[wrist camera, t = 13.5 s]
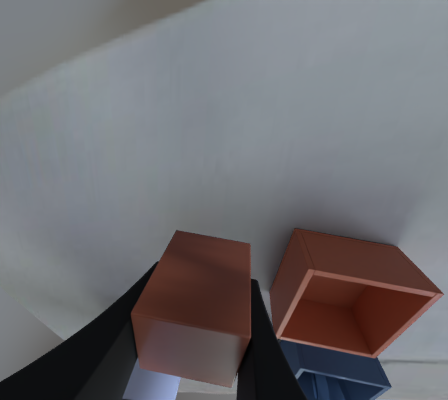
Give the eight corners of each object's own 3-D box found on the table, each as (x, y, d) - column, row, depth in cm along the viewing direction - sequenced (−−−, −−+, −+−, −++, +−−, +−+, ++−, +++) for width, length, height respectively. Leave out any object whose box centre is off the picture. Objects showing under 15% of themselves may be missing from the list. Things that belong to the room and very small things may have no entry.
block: (175, 280, 13) (139, 368, 9) (176, 229, 11) (129, 313, 7) (238, 292, 13) (232, 388, 9) (250, 243, 11) (251, 338, 7)
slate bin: (272, 356, 29) (276, 401, 25) (291, 321, 25) (300, 368, 20) (335, 369, 29) (350, 417, 25) (367, 336, 24) (392, 387, 20)
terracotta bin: (269, 292, 23) (273, 338, 18) (294, 227, 18) (308, 268, 14) (351, 308, 22) (375, 358, 18) (397, 246, 18) (444, 294, 13)
